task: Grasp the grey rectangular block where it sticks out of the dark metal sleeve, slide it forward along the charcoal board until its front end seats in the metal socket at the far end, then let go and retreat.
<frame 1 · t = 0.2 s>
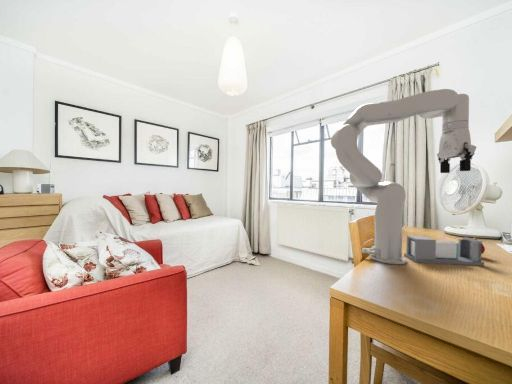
hand: (454, 171, 83), 36 cm above the table, tool pointing down, fingers open, 9 cm apart
onion: (474, 256, 92), on the table
grey rectangular block: (433, 249, 86), point 5 cm above the table, slide at 0.0 cm
socket: (467, 261, 85), resting on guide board
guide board: (441, 260, 86), on the table
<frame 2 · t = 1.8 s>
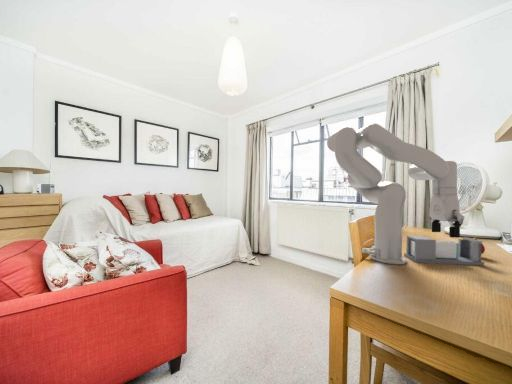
hand: (444, 234, 86), 11 cm above the table, tool pointing down, fingers open, 9 cm apart
nothing on the table moved.
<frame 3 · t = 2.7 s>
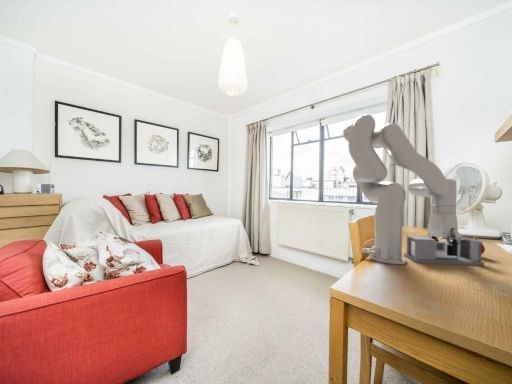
hand: (442, 251, 86), 4 cm above the table, tool pointing down, fingers open, 9 cm apart
nothing on the table moved.
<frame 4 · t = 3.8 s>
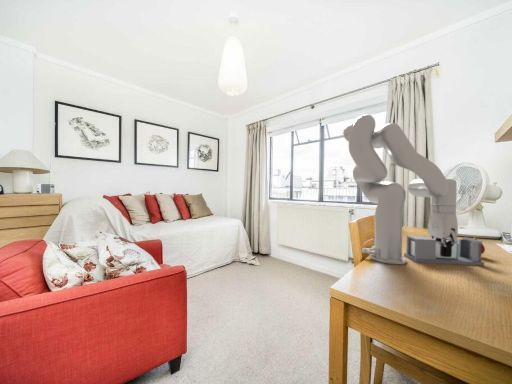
hand: (442, 254, 86), 2 cm above the table, tool pointing down, fingers closed on grey rectangular block, 3 cm apart
grey rectangular block: (433, 249, 86), point 4 cm above the table, slide at 0.0 cm, touching gripper
everything else where it was.
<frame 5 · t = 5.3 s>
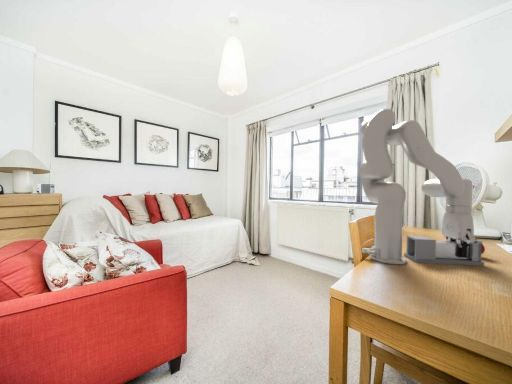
hand: (457, 255, 85), 2 cm above the table, tool pointing down, fingers closed on grey rectangular block, 3 cm apart
grey rectangular block: (448, 249, 86), point 4 cm above the table, slide at 5.5 cm, touching gripper
everything else where it was.
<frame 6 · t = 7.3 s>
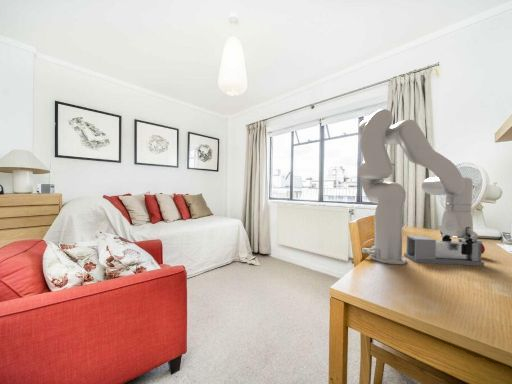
hand: (455, 250, 85), 4 cm above the table, tool pointing down, fingers open, 9 cm apart
grey rectangular block: (448, 249, 86), point 4 cm above the table, slide at 5.5 cm
everything else where it was.
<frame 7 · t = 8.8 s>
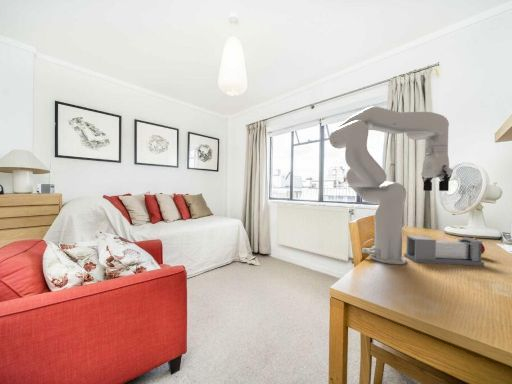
hand: (435, 190, 92), 28 cm above the table, tool pointing down, fingers open, 9 cm apart
nothing on the table moved.
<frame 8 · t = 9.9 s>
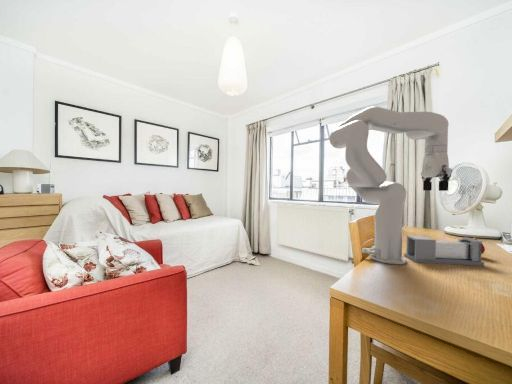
hand: (434, 190, 92), 28 cm above the table, tool pointing down, fingers open, 9 cm apart
nothing on the table moved.
at the end: grey rectangular block slide at 5.5 cm; the gripper is holding nothing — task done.
